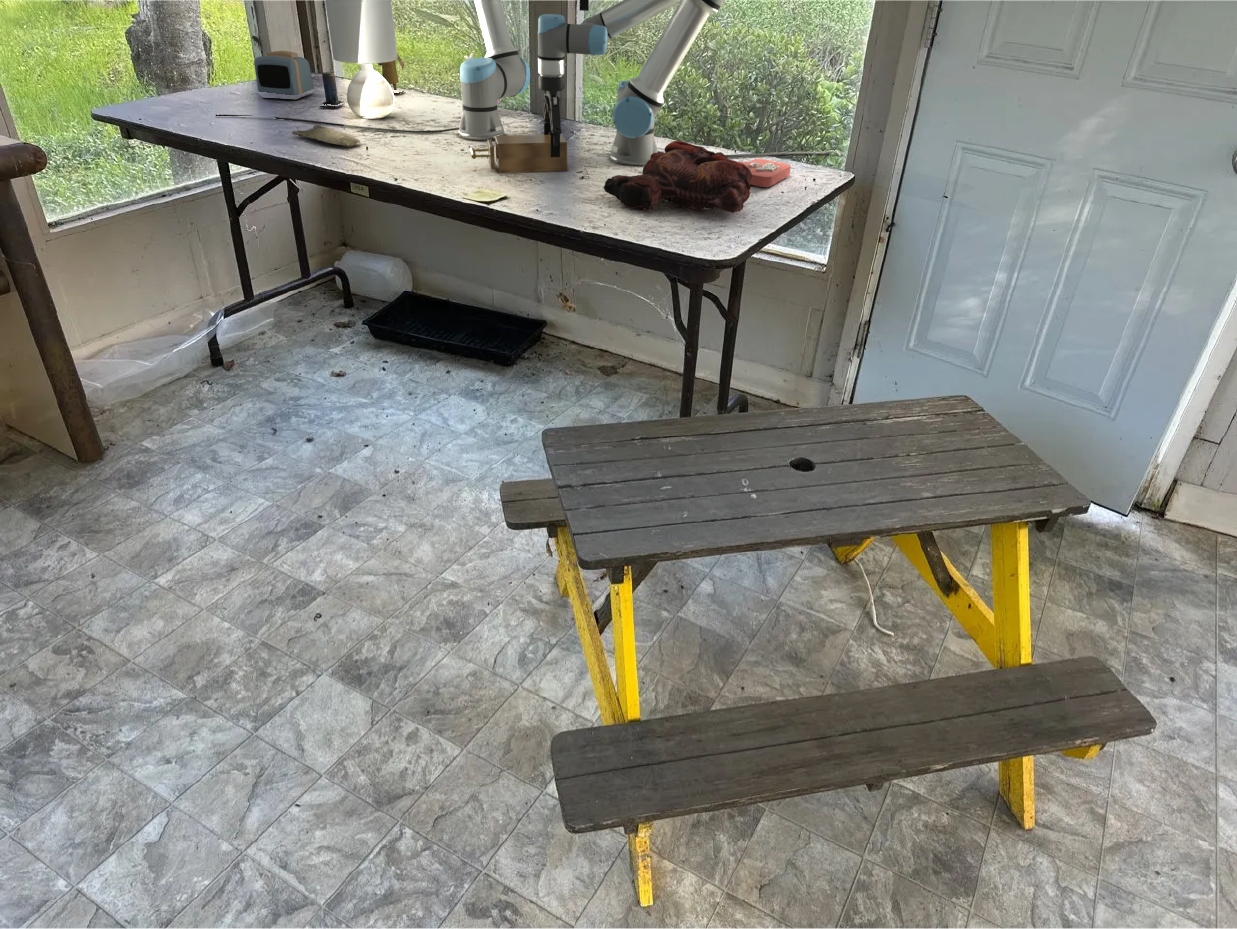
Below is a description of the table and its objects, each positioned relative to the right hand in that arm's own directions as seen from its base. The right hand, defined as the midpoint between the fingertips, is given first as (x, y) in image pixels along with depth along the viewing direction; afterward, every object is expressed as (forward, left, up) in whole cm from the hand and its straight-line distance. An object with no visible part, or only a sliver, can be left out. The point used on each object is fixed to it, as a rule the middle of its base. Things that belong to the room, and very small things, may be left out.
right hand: (551, 151), depth 256 cm
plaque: (-55, +29, -5) cm, 63 cm away
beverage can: (+53, -100, -5) cm, 113 cm away
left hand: (-18, -23, +36) cm, 46 cm away
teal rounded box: (+67, -123, -5) cm, 140 cm away
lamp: (+41, -81, -5) cm, 91 cm away
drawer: (+12, -2, -4) cm, 13 cm away
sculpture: (-20, +46, -5) cm, 50 cm away
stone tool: (+60, -49, -5) cm, 78 cm away
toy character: (0, -80, -5) cm, 80 cm away
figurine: (+27, -118, -5) cm, 122 cm away
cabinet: (+6, -1, -5) cm, 8 cm away
